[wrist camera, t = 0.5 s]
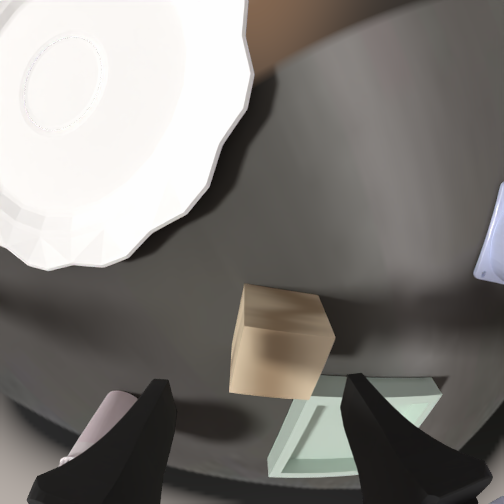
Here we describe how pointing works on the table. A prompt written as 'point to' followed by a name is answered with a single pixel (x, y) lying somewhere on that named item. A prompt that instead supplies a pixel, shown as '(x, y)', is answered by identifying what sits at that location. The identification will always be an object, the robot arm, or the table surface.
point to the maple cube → (279, 343)
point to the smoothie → (102, 421)
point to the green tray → (338, 426)
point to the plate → (112, 120)
